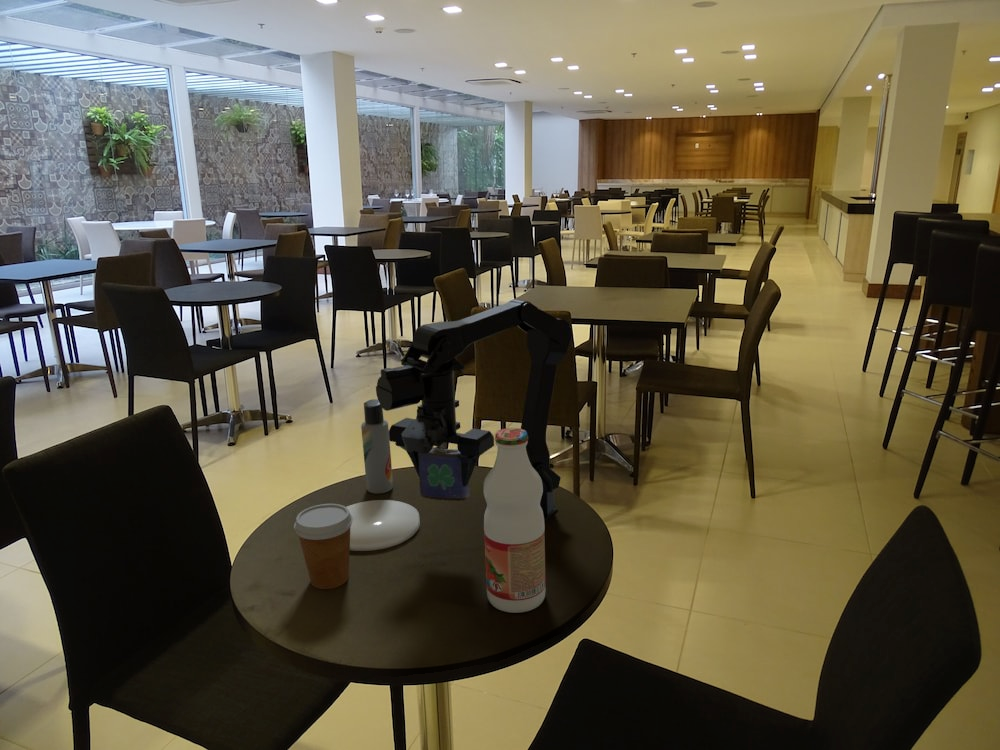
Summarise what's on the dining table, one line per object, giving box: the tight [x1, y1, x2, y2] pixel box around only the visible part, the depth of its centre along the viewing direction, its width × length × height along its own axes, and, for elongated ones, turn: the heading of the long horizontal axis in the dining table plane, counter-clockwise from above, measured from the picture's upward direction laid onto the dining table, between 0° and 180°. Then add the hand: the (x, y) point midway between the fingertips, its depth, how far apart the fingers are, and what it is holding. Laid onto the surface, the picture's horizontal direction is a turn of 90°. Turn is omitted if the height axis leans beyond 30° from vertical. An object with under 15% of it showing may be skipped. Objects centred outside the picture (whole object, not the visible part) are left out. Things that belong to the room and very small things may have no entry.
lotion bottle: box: [360, 399, 394, 495], centre depth 153 cm, size 6×6×20 cm
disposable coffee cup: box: [293, 503, 353, 590], centre depth 120 cm, size 10×10×12 cm
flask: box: [418, 442, 471, 502], centre depth 127 cm, size 9×3×11 cm, turn 75°
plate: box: [346, 499, 421, 552], centre depth 139 cm, size 18×18×2 cm
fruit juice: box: [482, 427, 547, 614], centre depth 111 cm, size 9×9×28 cm
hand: (443, 481), depth 127 cm, fingers closed on flask, 9 cm apart
